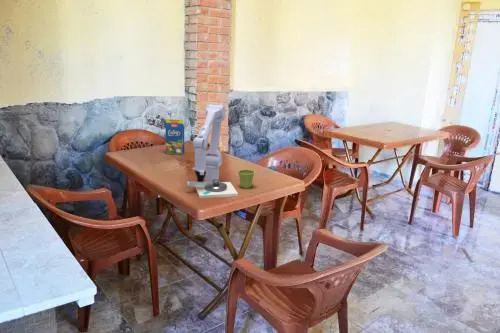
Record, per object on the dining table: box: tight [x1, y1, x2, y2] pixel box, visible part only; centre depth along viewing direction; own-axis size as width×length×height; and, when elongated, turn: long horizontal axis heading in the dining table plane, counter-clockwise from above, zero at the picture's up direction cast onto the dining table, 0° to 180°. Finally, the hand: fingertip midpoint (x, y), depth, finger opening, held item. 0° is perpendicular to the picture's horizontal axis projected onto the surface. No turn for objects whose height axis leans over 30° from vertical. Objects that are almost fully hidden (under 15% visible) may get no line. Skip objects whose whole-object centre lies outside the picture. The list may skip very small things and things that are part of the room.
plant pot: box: [237, 169, 256, 189], centre depth 228 cm, size 9×9×9 cm
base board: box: [195, 181, 239, 199], centre depth 220 cm, size 20×20×2 cm
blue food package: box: [165, 118, 185, 156], centre depth 294 cm, size 6×12×25 cm, turn 84°
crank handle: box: [186, 179, 227, 192], centre depth 218 cm, size 22×12×4 cm, turn 104°
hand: (200, 184), depth 219 cm, fingers closed
